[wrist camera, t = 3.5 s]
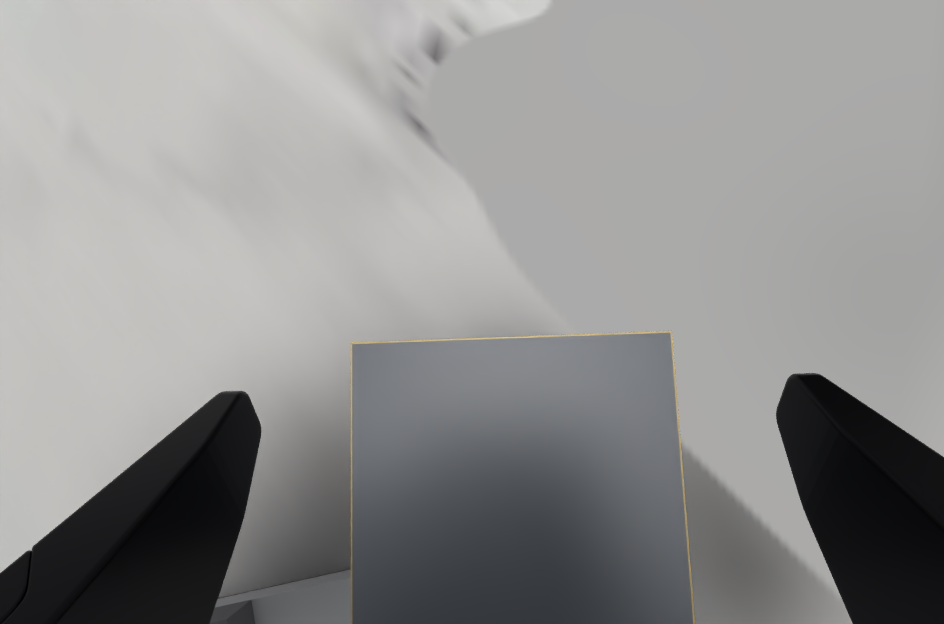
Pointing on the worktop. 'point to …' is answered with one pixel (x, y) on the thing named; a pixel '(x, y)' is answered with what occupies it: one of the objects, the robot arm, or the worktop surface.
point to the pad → (291, 603)
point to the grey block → (518, 481)
